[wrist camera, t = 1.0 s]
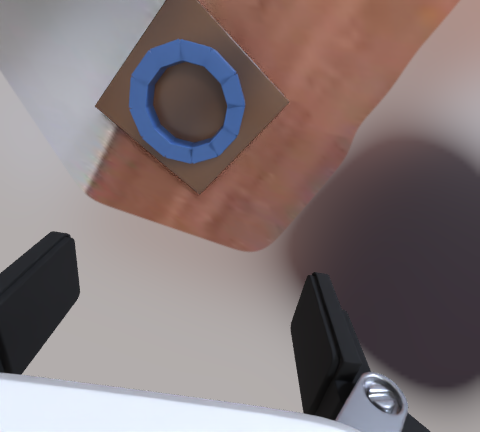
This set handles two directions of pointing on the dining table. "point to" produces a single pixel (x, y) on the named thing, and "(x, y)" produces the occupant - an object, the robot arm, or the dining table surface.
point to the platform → (194, 91)
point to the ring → (146, 114)
